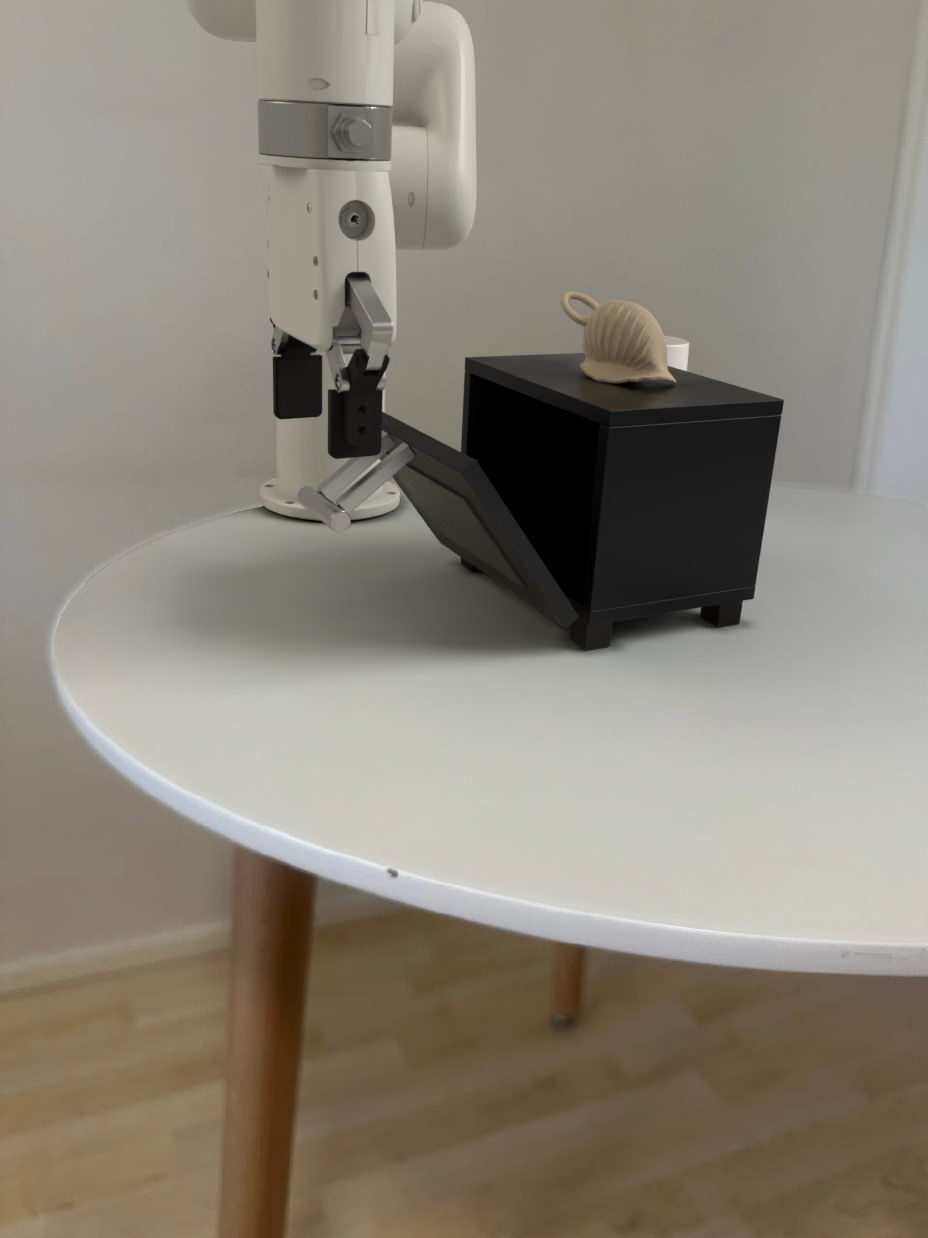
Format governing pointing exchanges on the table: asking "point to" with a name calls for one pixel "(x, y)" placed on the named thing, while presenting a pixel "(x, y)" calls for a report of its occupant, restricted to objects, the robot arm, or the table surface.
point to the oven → (627, 483)
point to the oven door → (445, 511)
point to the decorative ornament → (620, 341)
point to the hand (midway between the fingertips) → (324, 435)
